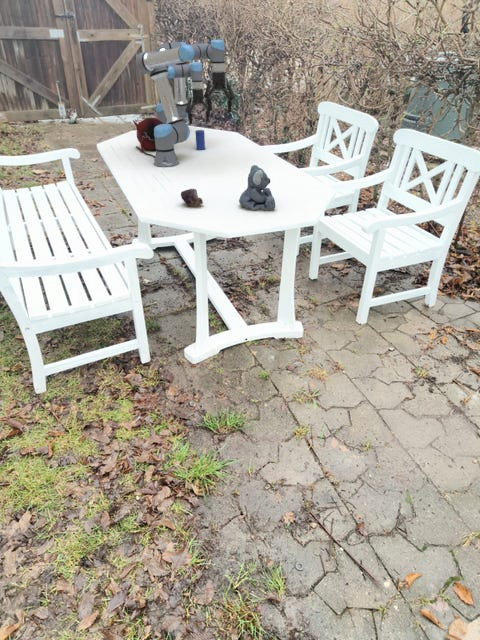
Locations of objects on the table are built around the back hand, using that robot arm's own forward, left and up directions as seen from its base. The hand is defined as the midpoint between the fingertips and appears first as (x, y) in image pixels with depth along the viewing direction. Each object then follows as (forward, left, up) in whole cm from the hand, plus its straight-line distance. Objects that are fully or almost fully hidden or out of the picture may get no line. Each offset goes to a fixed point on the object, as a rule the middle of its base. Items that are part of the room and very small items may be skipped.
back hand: (199, 122), depth 315 cm
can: (0, 0, -18) cm, 18 cm away
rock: (+97, -60, -18) cm, 116 cm away
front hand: (+47, -11, +14) cm, 50 cm away
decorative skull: (-22, -27, -18) cm, 39 cm away
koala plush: (+117, -34, -18) cm, 123 cm away
